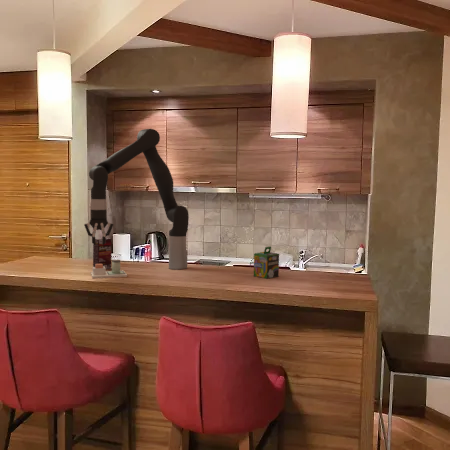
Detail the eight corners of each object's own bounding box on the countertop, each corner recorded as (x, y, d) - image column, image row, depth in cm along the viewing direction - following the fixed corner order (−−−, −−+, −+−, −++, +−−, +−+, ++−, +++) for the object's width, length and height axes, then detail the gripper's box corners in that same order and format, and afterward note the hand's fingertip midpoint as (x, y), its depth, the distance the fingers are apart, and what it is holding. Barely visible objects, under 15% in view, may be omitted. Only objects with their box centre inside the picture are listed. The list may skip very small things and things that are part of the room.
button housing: (104, 272, 236) (104, 266, 236) (105, 274, 231) (105, 268, 230) (92, 273, 234) (92, 266, 234) (93, 275, 229) (93, 268, 228)
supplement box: (98, 270, 247) (98, 239, 245) (92, 269, 249) (92, 238, 248) (112, 268, 253) (112, 238, 252) (106, 267, 256) (106, 237, 255)
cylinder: (119, 271, 238) (119, 259, 237) (120, 273, 234) (121, 260, 234) (111, 272, 236) (111, 259, 236) (112, 273, 232) (112, 260, 232)
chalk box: (265, 274, 244) (265, 244, 242) (279, 276, 237) (280, 246, 236) (252, 276, 237) (253, 246, 236) (267, 279, 231) (267, 248, 229)
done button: (102, 268, 234) (102, 263, 234) (102, 269, 231) (102, 264, 231) (95, 268, 233) (95, 263, 233) (95, 269, 230) (95, 265, 230)
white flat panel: (123, 272, 242) (123, 270, 242) (127, 276, 231) (127, 274, 231) (90, 273, 237) (90, 271, 237) (92, 278, 226) (92, 276, 226)
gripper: (83, 209, 224) (84, 246, 225) (114, 209, 229) (114, 245, 230) (82, 208, 231) (82, 244, 232) (112, 208, 236) (112, 243, 237)
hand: (98, 244), depth 231 cm, fingers open, 3 cm apart
